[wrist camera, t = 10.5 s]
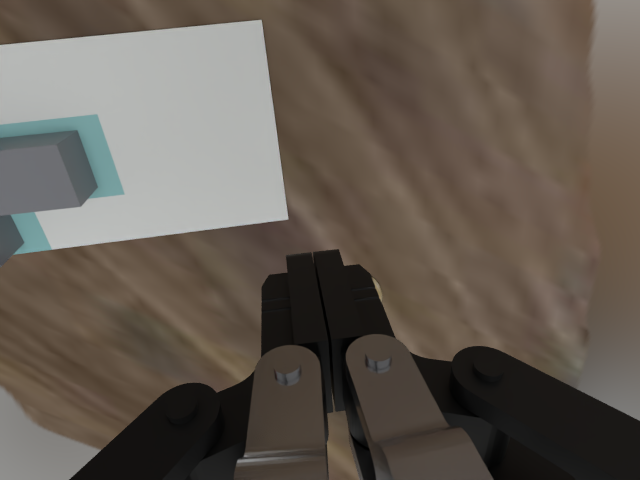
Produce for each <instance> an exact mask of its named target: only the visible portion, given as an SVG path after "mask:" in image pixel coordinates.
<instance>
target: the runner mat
mask: <svg viewBox="0 0 640 480" xmlns="http://www.w3.org/2000/svg"><path fill="white" fill-rule="evenodd" d="M94 114H97V115H98V118H99V121H100V124H101V126H102V129H103V132H104V135H105V138H106V141H107V144H108V147H109V150H110V153H111V156H112V158H113V161H114V164H115V167H116V170H117V173H118V176H119V179H120V182H121V185H122V188H123V190H124V193H125V194H124V195H116V196H108V197H99V198H91V199H87V201H86V202H85V203H84V204H83V205H82V206H81V207H75V208H66V209H57V210H48V211H39V212H35V214H36V216H37V219H38V221H39V223H40V225H41V227H42V229H43V231H44V233H45V235H46V238H47V240H48V242H49V244H50V246H51V248H52V249H60V248H68V247H76V246H83V245H91V244H99V243H107V242H115V241H123V240H131V239H138V238H146V237H154V236H162V235H170V234H178V233H186V232H193V231H201V230H209V229H217V228H225V227H233V226H241V225H248V224H256V223H264V222H272V221H280V220H288V213H287V205H286V198H285V190H284V183H283V175H282V168H281V160H280V153H279V146H278V138H277V131H276V123H275V116H274V108H273V101H272V93H271V86H270V78H269V71H268V64H267V56H266V49H265V41H264V34H263V26H262V20H254V21H243V22H233V23H223V24H212V25H202V26H192V27H181V28H171V29H161V30H150V31H140V32H130V33H119V34H109V35H99V36H88V37H78V38H68V39H57V40H47V41H37V42H26V43H16V44H6V45H0V125H2V124H11V123H20V122H29V121H39V120H48V119H57V118H66V117H76V116H85V115H94Z"/></svg>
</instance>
